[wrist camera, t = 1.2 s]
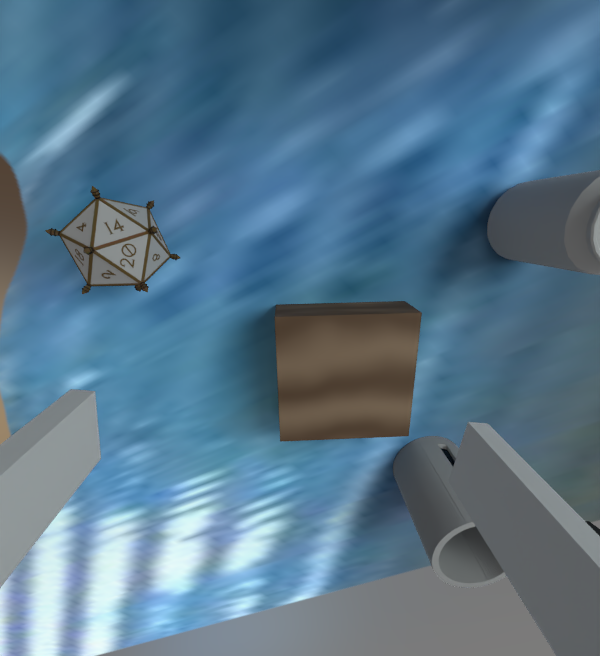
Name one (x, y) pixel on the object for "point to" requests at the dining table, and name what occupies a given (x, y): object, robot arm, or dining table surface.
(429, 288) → the dining table surface
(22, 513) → the robot arm
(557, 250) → the can
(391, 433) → the walnut block
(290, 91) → the dining table surface
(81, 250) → the game die
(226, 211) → the dining table surface
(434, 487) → the cup
